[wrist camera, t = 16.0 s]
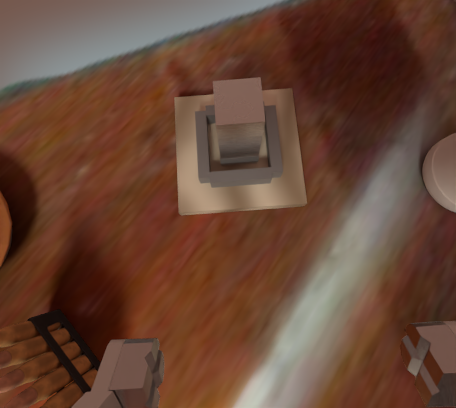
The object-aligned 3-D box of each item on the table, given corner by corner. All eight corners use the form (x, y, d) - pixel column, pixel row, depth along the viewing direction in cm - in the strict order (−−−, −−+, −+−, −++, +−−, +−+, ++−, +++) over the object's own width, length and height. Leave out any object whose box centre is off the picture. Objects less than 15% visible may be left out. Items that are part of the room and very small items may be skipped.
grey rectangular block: (254, 130, 35) (261, 76, 26) (257, 164, 34) (266, 121, 25) (218, 133, 35) (212, 80, 26) (221, 166, 34) (215, 126, 25)
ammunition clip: (120, 389, 31) (51, 460, 20) (106, 403, 31) (27, 483, 19) (59, 308, 33) (-37, 329, 22) (45, 320, 33) (-60, 348, 21)
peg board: (289, 95, 38) (295, 77, 34) (304, 206, 35) (311, 199, 31) (176, 104, 38) (171, 87, 35) (181, 215, 35) (175, 209, 32)
